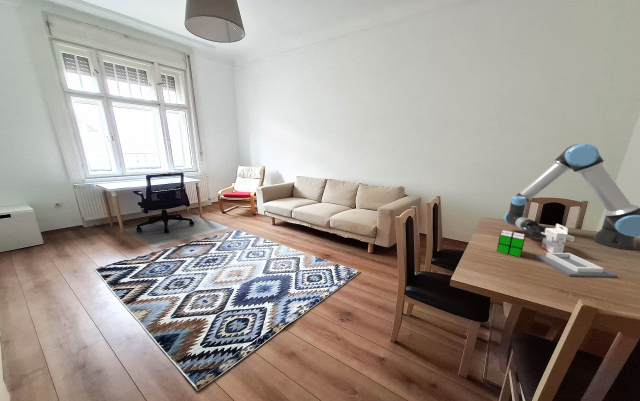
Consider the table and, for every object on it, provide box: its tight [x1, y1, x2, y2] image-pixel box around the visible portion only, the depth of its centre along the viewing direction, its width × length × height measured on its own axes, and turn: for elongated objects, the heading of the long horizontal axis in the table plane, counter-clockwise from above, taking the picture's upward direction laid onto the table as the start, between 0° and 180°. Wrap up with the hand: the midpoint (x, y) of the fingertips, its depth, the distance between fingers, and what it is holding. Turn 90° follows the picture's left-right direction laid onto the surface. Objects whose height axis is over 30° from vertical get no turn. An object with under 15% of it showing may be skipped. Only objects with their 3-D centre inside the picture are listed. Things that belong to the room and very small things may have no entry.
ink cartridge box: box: [540, 223, 569, 253], centre depth 123 cm, size 9×5×15 cm, turn 168°
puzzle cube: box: [496, 229, 526, 258], centre depth 123 cm, size 10×10×10 cm
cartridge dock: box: [533, 252, 618, 278], centre depth 109 cm, size 20×18×3 cm
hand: (562, 239), depth 119 cm, fingers open, 10 cm apart
